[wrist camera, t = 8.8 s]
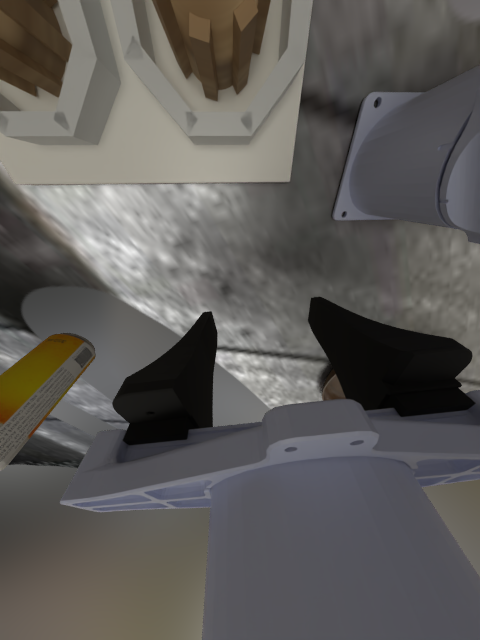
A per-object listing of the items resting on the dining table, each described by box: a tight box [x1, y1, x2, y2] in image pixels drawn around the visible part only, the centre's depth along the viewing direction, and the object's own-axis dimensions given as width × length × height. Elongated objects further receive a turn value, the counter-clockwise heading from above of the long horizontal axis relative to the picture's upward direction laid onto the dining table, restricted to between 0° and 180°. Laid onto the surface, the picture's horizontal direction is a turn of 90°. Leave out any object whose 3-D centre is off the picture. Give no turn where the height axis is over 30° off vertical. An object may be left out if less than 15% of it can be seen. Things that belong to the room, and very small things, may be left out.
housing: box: [0, 0, 313, 185], centre depth 9 cm, size 22×14×4 cm, turn 90°
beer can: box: [0, 333, 95, 471], centre depth 20 cm, size 6×6×15 cm
